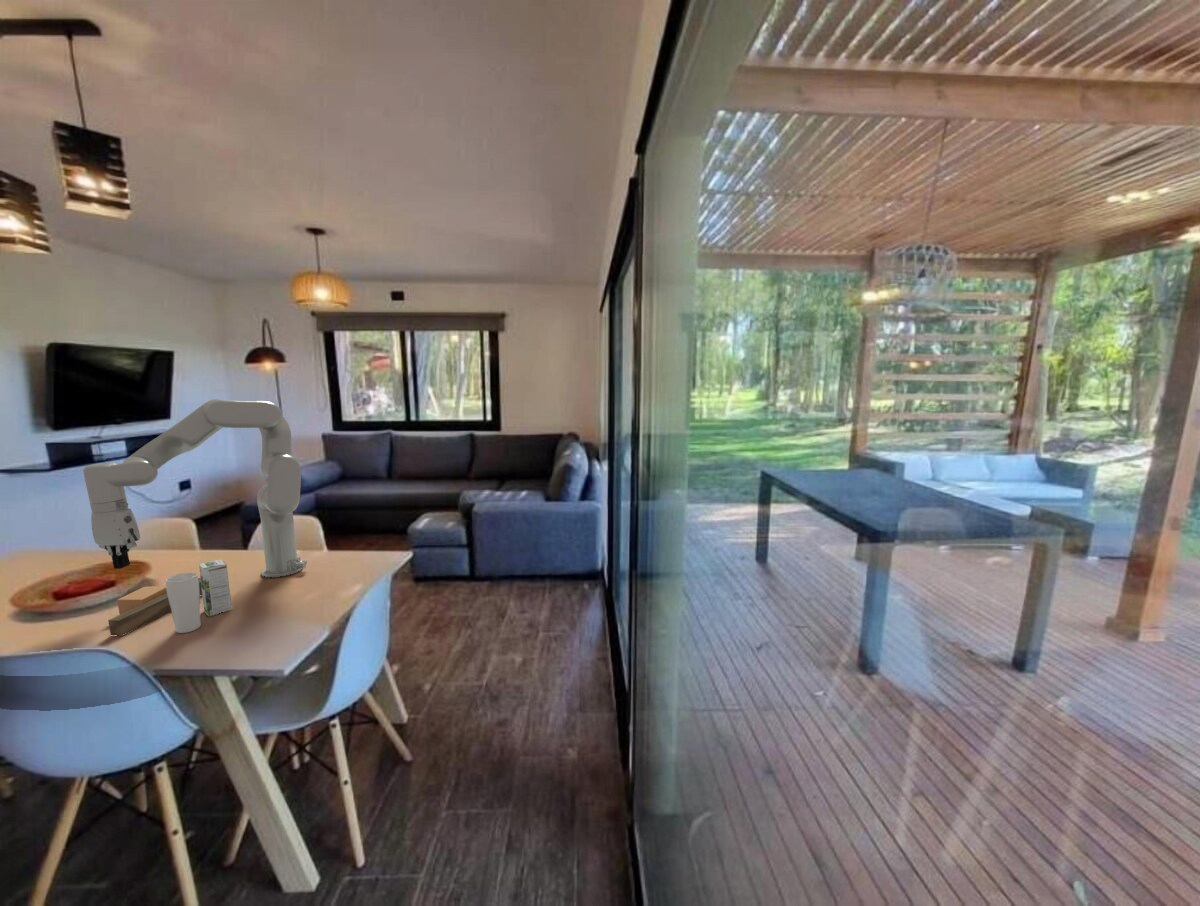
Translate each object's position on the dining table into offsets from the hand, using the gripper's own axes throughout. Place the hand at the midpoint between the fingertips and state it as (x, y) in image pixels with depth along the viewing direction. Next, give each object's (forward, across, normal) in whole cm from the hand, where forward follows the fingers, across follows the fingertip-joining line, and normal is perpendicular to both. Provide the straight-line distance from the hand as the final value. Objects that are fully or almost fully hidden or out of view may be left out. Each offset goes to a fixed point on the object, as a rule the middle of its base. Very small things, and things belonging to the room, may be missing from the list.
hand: (122, 566), depth 148 cm
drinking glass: (+14, -28, +10) cm, 33 cm away
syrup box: (+14, -27, -1) cm, 30 cm away
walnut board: (+13, -12, +1) cm, 18 cm away
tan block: (+13, -6, +1) cm, 15 cm away
